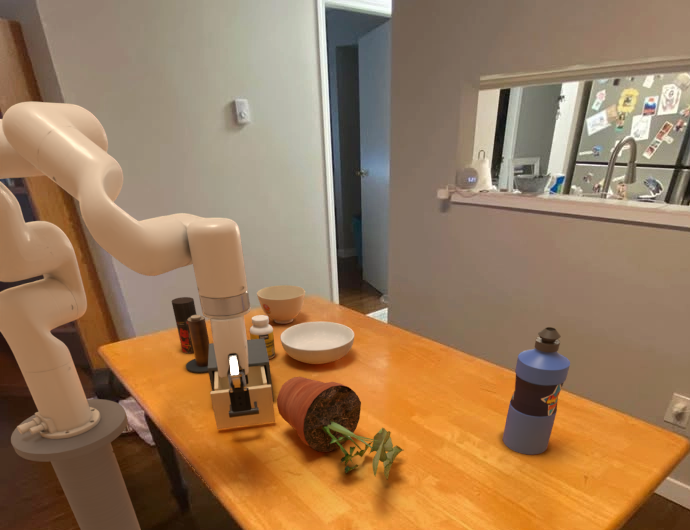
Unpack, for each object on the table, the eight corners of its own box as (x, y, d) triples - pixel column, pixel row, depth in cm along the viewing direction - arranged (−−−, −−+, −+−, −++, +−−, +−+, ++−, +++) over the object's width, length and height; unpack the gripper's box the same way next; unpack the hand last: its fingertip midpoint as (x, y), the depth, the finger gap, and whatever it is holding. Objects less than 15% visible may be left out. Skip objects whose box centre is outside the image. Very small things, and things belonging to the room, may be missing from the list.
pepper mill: (203, 368, 125) (193, 320, 118) (193, 364, 128) (183, 317, 120) (216, 362, 128) (207, 315, 121) (206, 358, 131) (197, 312, 123)
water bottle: (556, 442, 97) (587, 329, 84) (534, 460, 91) (563, 343, 78) (516, 424, 102) (539, 316, 89) (493, 441, 97) (514, 328, 84)
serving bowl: (268, 355, 134) (265, 333, 130) (324, 337, 146) (323, 316, 142) (311, 380, 121) (310, 355, 117) (369, 357, 133) (369, 335, 129)
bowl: (315, 323, 157) (313, 294, 151) (271, 332, 149) (267, 302, 144) (295, 310, 168) (292, 282, 163) (253, 318, 161) (249, 289, 156)
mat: (202, 376, 122) (201, 374, 122) (178, 367, 127) (178, 365, 127) (231, 363, 129) (230, 361, 129) (207, 355, 134) (207, 353, 134)
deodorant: (206, 349, 138) (197, 300, 130) (188, 355, 134) (177, 305, 126) (196, 344, 141) (187, 295, 133) (178, 349, 138) (167, 300, 130)
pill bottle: (255, 362, 130) (250, 323, 124) (250, 354, 135) (245, 315, 129) (278, 358, 132) (274, 319, 126) (272, 350, 137) (268, 312, 131)
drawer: (277, 432, 98) (273, 396, 94) (217, 440, 96) (210, 403, 91) (269, 393, 113) (265, 360, 108) (217, 399, 110) (211, 366, 105)
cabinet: (273, 401, 111) (269, 361, 105) (215, 408, 108) (207, 368, 103) (268, 375, 123) (264, 338, 118) (215, 381, 120) (208, 343, 115)
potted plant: (270, 443, 99) (382, 521, 75) (262, 377, 92) (383, 440, 68) (327, 422, 108) (444, 485, 84) (324, 360, 101) (450, 410, 78)
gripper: (202, 289, 79) (219, 378, 88) (198, 323, 65) (219, 425, 74) (246, 286, 81) (258, 373, 90) (252, 318, 67) (266, 418, 76)
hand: (241, 396), depth 82 cm, fingers open, 9 cm apart
